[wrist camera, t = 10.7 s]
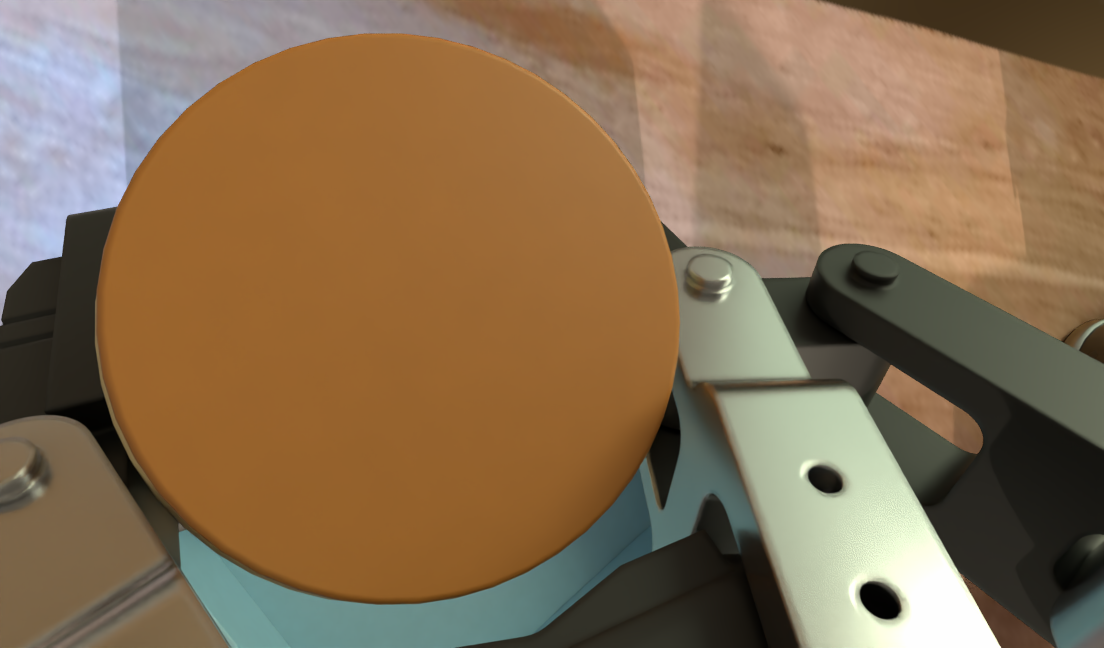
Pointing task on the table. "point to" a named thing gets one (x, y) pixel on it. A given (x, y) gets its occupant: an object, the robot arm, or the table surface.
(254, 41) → the table surface
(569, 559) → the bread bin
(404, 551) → the lidded cream canister
